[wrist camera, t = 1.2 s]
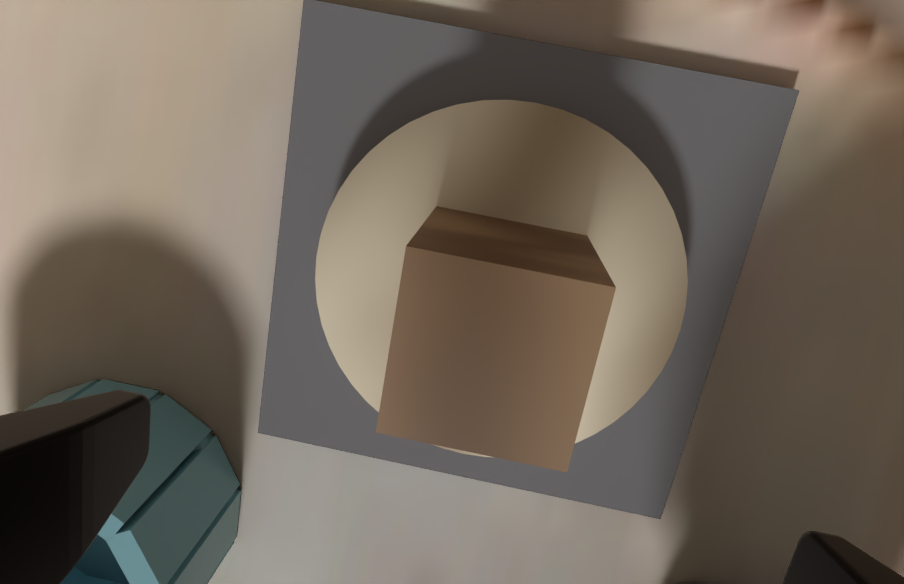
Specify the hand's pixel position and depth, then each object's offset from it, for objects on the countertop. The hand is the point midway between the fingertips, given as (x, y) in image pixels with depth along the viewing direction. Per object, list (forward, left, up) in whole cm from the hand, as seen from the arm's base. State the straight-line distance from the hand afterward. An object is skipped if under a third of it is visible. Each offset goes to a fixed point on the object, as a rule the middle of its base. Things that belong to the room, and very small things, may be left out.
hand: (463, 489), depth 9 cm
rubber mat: (0, 0, -11) cm, 11 cm away
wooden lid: (0, 0, -10) cm, 10 cm away
